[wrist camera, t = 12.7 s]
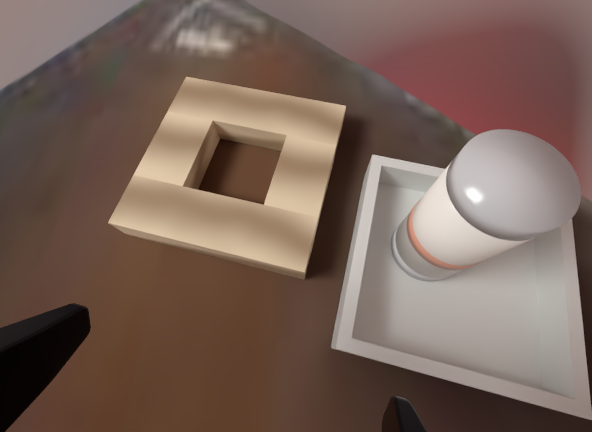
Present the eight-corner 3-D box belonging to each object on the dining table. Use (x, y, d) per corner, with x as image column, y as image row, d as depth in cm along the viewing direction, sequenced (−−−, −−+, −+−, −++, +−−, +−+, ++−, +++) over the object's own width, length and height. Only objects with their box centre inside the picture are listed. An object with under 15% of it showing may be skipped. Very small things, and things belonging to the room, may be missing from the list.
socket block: (304, 279, 23) (304, 272, 21) (126, 234, 25) (107, 222, 22) (342, 125, 28) (346, 105, 26) (195, 97, 30) (186, 76, 28)
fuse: (456, 290, 21) (587, 245, 12) (385, 271, 22) (454, 215, 12) (460, 225, 23) (575, 141, 14) (395, 210, 24) (461, 119, 14)
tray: (544, 407, 19) (592, 420, 16) (330, 347, 21) (335, 348, 18) (534, 213, 25) (569, 194, 21) (363, 177, 26) (372, 154, 23)
